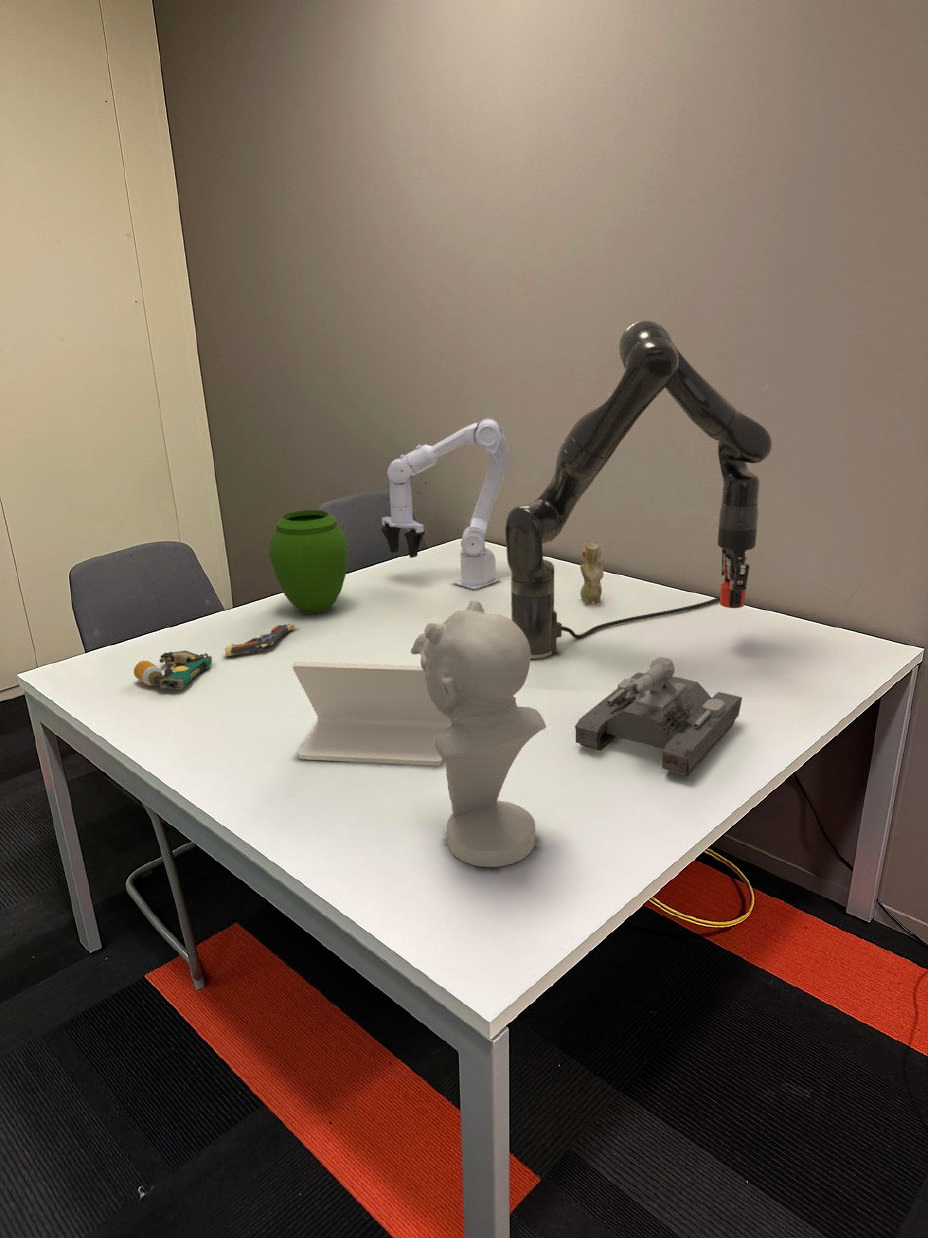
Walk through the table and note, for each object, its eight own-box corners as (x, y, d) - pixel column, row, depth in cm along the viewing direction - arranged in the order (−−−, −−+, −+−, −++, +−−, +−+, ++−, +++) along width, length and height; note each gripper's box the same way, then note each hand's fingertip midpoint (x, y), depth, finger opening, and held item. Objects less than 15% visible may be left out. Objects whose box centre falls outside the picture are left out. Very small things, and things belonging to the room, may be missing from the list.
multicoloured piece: (177, 659, 191) (231, 671, 185) (120, 684, 176) (176, 698, 171) (176, 641, 190) (230, 653, 184) (118, 665, 175) (174, 678, 169)
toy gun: (221, 647, 188) (262, 644, 186) (256, 622, 206) (295, 619, 204) (223, 659, 189) (265, 656, 187) (258, 633, 207) (297, 630, 205)
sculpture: (599, 596, 220) (601, 540, 215) (605, 605, 214) (607, 548, 208) (577, 597, 220) (578, 541, 215) (582, 606, 213) (583, 549, 208)
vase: (368, 603, 220) (362, 511, 212) (318, 627, 205) (308, 529, 196) (311, 592, 230) (303, 503, 222) (259, 614, 215) (248, 520, 206)
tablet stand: (441, 765, 143) (437, 672, 137) (297, 759, 146) (287, 668, 140) (456, 716, 160) (453, 631, 154) (327, 711, 163) (319, 628, 157)
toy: (637, 695, 165) (641, 623, 160) (740, 721, 154) (747, 645, 149) (574, 750, 146) (575, 670, 141) (685, 784, 135) (691, 699, 130)
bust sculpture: (481, 772, 140) (476, 569, 128) (565, 848, 120) (569, 617, 108) (392, 800, 134) (378, 588, 121) (465, 886, 114) (457, 642, 101)
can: (717, 600, 184) (719, 581, 182) (741, 600, 183) (743, 581, 182) (721, 608, 179) (723, 588, 178) (746, 608, 179) (748, 589, 177)
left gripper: (372, 504, 229) (375, 552, 233) (408, 511, 219) (411, 562, 224) (391, 499, 233) (394, 547, 238) (428, 506, 224) (430, 556, 229)
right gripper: (766, 533, 168) (758, 614, 174) (748, 515, 182) (741, 591, 188) (727, 533, 169) (720, 614, 175) (712, 516, 182) (706, 591, 188)
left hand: (403, 554), depth 231 cm, fingers open, 7 cm apart
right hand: (731, 602), depth 181 cm, fingers closed on can, 5 cm apart
